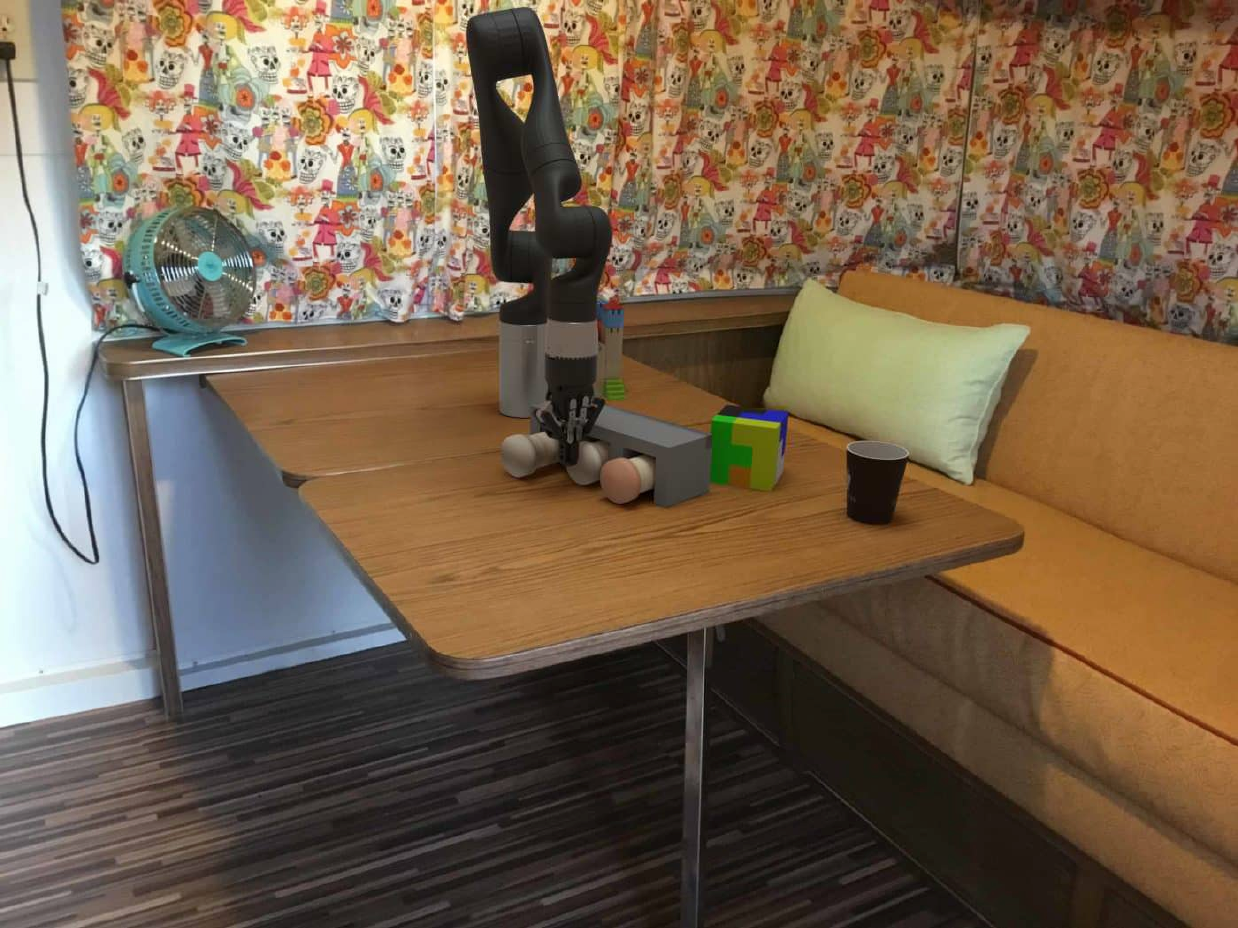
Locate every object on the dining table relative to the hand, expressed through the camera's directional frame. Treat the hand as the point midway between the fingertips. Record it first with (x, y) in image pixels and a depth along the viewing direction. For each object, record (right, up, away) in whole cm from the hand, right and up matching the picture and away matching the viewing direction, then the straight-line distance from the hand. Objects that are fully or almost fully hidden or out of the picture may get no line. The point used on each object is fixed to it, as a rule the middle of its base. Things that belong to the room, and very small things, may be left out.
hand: (568, 464), depth 151 cm
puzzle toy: (+28, -2, +10) cm, 29 cm away
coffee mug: (+44, -7, -3) cm, 45 cm away
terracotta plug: (+10, -5, -1) cm, 11 cm away
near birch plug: (-5, -1, +8) cm, 10 cm away
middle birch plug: (+5, -2, +6) cm, 8 cm away
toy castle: (+1, +17, +63) cm, 65 cm away
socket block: (+7, -2, +8) cm, 11 cm away
